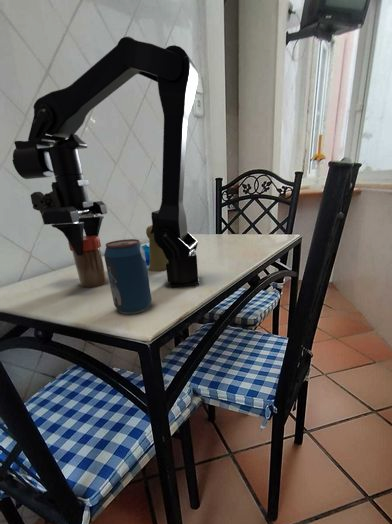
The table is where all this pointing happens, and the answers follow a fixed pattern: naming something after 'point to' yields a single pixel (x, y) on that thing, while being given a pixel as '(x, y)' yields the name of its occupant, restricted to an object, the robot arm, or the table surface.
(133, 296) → the soda can
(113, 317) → the table surface
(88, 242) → the lid
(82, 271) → the jar
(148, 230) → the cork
